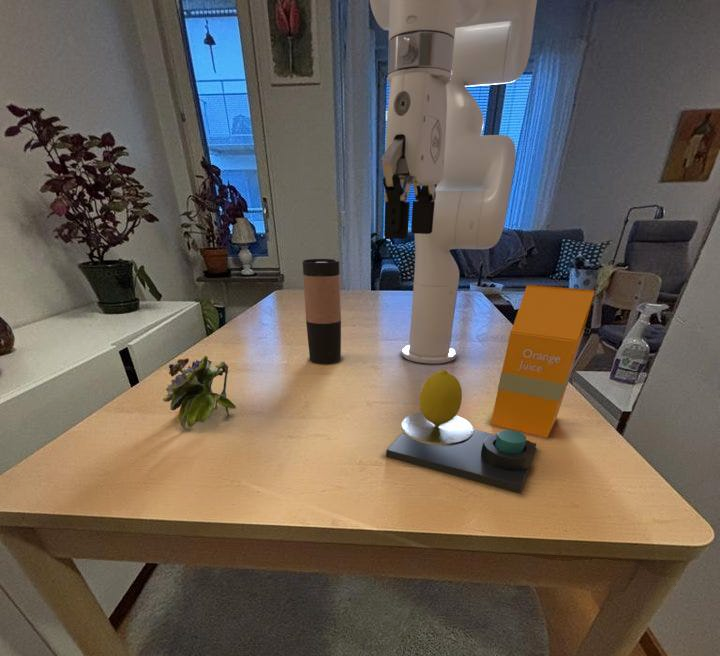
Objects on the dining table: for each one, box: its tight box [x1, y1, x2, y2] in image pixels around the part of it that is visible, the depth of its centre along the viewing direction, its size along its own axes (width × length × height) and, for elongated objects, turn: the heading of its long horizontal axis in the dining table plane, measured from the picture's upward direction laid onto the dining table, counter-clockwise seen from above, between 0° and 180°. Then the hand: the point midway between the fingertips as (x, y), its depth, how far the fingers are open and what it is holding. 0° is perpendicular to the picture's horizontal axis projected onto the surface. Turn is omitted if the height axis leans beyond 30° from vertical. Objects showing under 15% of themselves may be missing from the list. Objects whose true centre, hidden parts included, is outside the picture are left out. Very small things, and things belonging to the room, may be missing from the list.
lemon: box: [419, 369, 463, 426], centre depth 53 cm, size 6×6×8 cm
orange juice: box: [490, 284, 596, 438], centre depth 59 cm, size 8×9×20 cm
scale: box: [385, 429, 537, 494], centre depth 55 cm, size 12×18×3 cm, turn 62°
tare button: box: [495, 429, 527, 454], centre depth 51 cm, size 4×4×2 cm
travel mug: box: [302, 258, 342, 365], centre depth 85 cm, size 8×8×20 cm
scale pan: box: [401, 411, 475, 446], centre depth 55 cm, size 10×10×1 cm
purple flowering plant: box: [162, 355, 237, 431], centre depth 64 cm, size 11×11×12 cm
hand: (409, 235), depth 56 cm, fingers open, 9 cm apart
